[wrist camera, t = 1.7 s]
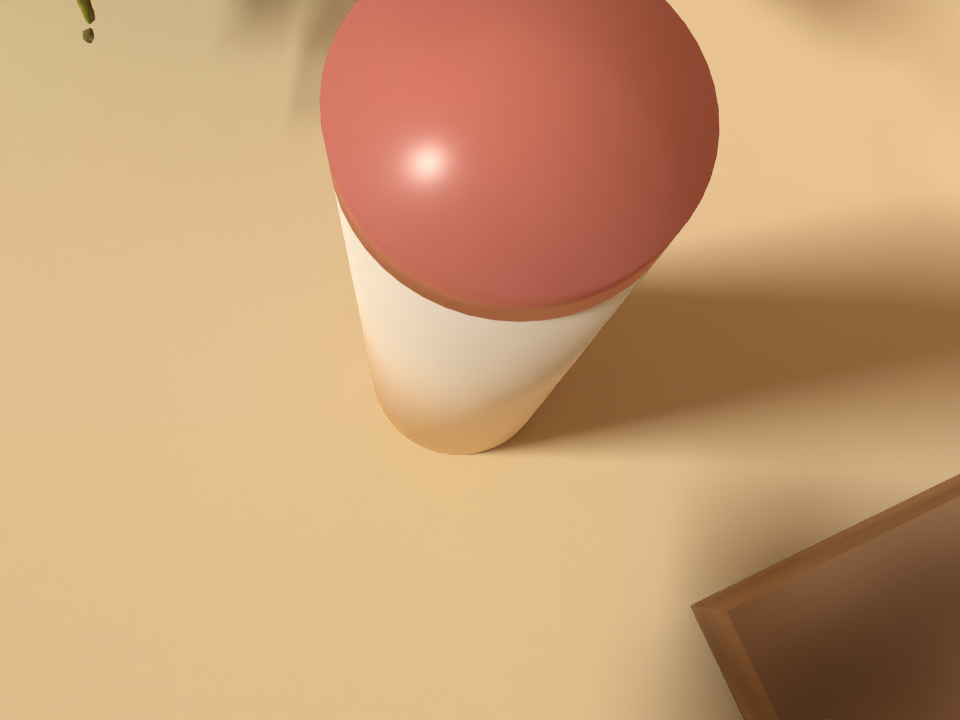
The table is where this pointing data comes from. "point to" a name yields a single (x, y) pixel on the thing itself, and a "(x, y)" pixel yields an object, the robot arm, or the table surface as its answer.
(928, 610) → the jig plate
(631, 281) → the post
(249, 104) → the table surface
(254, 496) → the table surface
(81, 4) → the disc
